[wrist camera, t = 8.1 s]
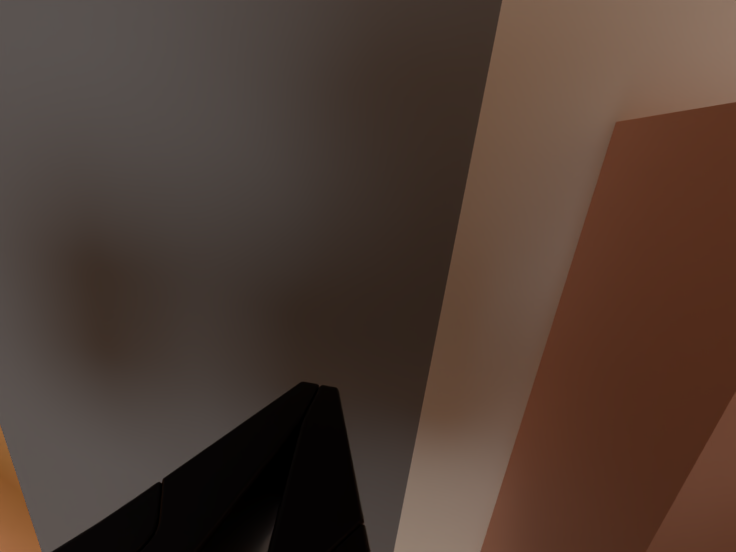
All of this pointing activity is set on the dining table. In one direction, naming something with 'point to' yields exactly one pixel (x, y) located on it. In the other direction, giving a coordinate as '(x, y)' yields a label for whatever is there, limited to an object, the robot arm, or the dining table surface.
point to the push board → (307, 228)
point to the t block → (638, 359)
